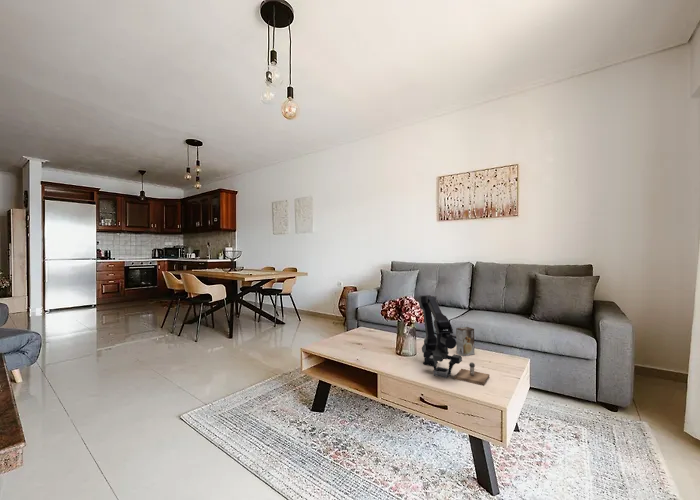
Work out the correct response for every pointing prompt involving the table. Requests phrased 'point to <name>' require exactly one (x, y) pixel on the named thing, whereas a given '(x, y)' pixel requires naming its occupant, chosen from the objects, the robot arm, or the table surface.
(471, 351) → the coffee box
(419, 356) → the table surface
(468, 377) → the square knob plate
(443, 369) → the metal link
